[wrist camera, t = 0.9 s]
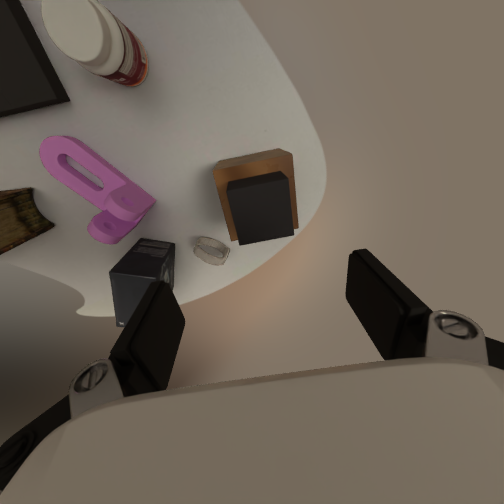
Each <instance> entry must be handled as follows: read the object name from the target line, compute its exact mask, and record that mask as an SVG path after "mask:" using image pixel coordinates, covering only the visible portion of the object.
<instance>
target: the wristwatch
mask: <svg viewBox="0 0 504 504" xmlns="http://www.w3.org/2000/svg"><path fill="white" fill-rule="evenodd" d="M199 245H206V246H209V245H210V247H214V248H216V249H217V250H219V251H220V252H221V253H222V254H223V257H220V258H219V257H215V256H212V255H210V254H208V253H206V252H205V251H204V250H202V249H201V248H200V247H199ZM215 245H216V246H215ZM229 251H230V248H227V247H226V246H225V245H223V244H222V243H221V242H219V241H217V240H214V239H211V238H206V237H205V238H204V237H201V238H199V239H198V240H197V242H196V245H195V247H194V254H195V255H196V256H197V257H198V258H200V259H201V260H203V261H204V262H206V263H209V264H212V265H223V264H224V263H225V261H226V259H227V257H228V254H229ZM207 260H208V261H207Z"/></svg>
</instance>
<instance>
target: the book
mask: <svg viewBox="0 0 504 504" xmlns="http://www.w3.org/2000/svg"><path fill="white" fill-rule="evenodd" d="M32 191H33V190H32V188H22V189H14V190H5V191H0V255H1V254H3V253H5V252H7V251H9V250H11V249H13V248H15V247H17V246H19V245H21V244H23V243H24V242H26V241H28V240H30V239H32V238H34V237H36V236H38V235H40V234H42V233H44V232H46V231H48V230H50V229H51V228H53V227H54V226H55V225H54V224H53V223H51V222H50V221H48V220H47V219H45V218H44V217H43V216H42V215H41V214H40V212H39V211H38V210H37V208H36V206H35V204H34V201H33V197H32Z"/></svg>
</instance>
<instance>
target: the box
mask: <svg viewBox="0 0 504 504" xmlns="http://www.w3.org/2000/svg"><path fill="white" fill-rule="evenodd" d="M174 262H175V244H174V243H169V242H163V241H156V240H150V239H144V238H140V239H139V240H138V241H137V242H136V244H135V245H134V246H133V247H132V248H131V249H130V250H129V251H128V252H127V253H126V254H125V255H124V256H123V258H122V259H121V260H120V261H119V262H118V263H117V264H116V265H115V266H114V267H113V268H112V269H111V270H110V271H109V276H110V281H111V288H112V295H113V302H114V310H115V316H116V326H117V327H125V326H126V324H127V323H128V321H129V319H130V317H131V316H132V314H133V312H134V311H135V309H136V307H137V305H138V304H139V302H140V300H141V299H142V297H143V295H144V294H145V292H146V290H147V288H148V287H149V285H150V283H151V282H155V281H161V280H164V281H165V282H167V283H169V285H170V287H171V289H172V290H173V287H174Z"/></svg>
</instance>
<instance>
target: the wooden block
mask: <svg viewBox="0 0 504 504" xmlns="http://www.w3.org/2000/svg"><path fill="white" fill-rule="evenodd" d="M276 171H281V172H283V173H284V174H285V175H286V176H287V177H288V178H289V187H290V197H291V207H292V218H293V228H294V229H297V228H299V227H298V215H297V203H296V191H295V180H294V168H293V156H292V154H291V153H289V152H286V151H284V150H282V149H279V148H278V149H273V150H268V151H264V152H259V153H254V154H250V155H245V156H240V157H235V158H231V159H226V160H221V161H219V162H218V164H217V165H216V166H215V168H214V169H213V171H212V172H213V175H214V179H215V183H216V186H217V190H218V194H219V198H220V201H221V205H222V209H223V213H224V216H225V220H226V224H227V227H228V231H229V235H230V239H231V241H235V240H238V237H237V233H236V229H235V225H234V221H233V217H232V213H231V209H230V205H229V201H228V197H227V193H226V190H227V185H228V182H229V181H233V180H238V179H243V178H248V177H252V176H257V175H262V174H267V173H272V172H276Z"/></svg>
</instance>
